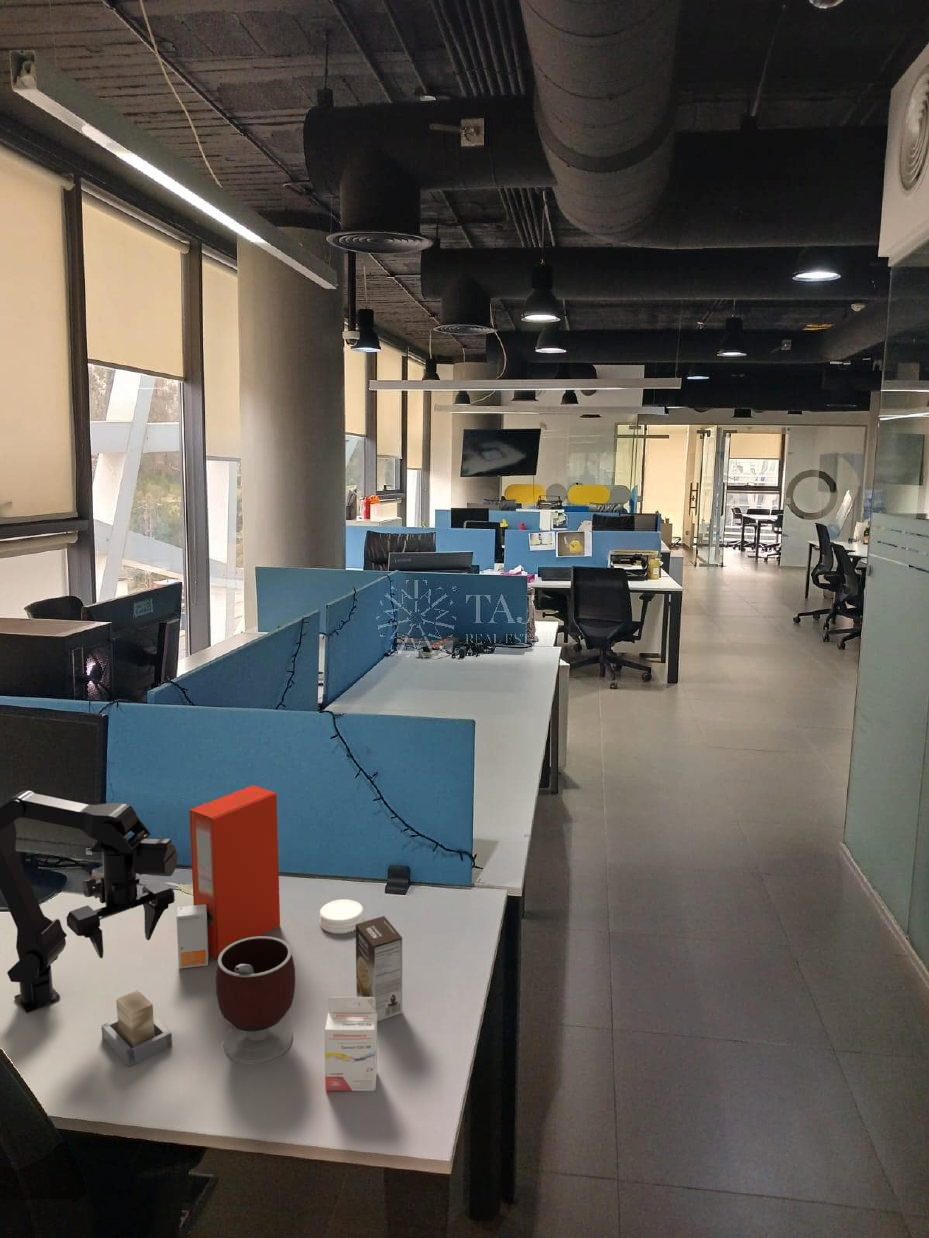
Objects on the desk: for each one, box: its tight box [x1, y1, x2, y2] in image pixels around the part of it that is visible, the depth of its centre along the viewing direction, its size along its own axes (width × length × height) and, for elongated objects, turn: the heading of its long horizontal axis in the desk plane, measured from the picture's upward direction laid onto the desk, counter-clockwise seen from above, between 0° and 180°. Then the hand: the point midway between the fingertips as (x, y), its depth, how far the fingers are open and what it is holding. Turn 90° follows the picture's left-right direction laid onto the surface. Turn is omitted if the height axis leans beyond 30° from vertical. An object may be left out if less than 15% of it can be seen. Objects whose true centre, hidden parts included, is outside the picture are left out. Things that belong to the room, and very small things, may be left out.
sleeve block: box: [115, 989, 155, 1048], centre depth 158 cm, size 4×6×8 cm, turn 45°
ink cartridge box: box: [324, 996, 378, 1092], centre depth 148 cm, size 9×5×15 cm, turn 92°
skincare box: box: [176, 904, 209, 970], centre depth 183 cm, size 6×4×12 cm
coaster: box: [319, 899, 365, 935], centre depth 200 cm, size 10×10×4 cm
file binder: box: [188, 785, 281, 961], centre depth 191 cm, size 8×17×32 cm, turn 145°
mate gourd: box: [215, 935, 296, 1065], centre depth 157 cm, size 16×14×20 cm
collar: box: [101, 1015, 173, 1067], centre depth 159 cm, size 11×8×2 cm
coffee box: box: [355, 915, 403, 1022], centre depth 168 cm, size 9×6×16 cm
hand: (124, 947), depth 168 cm, fingers open, 9 cm apart
